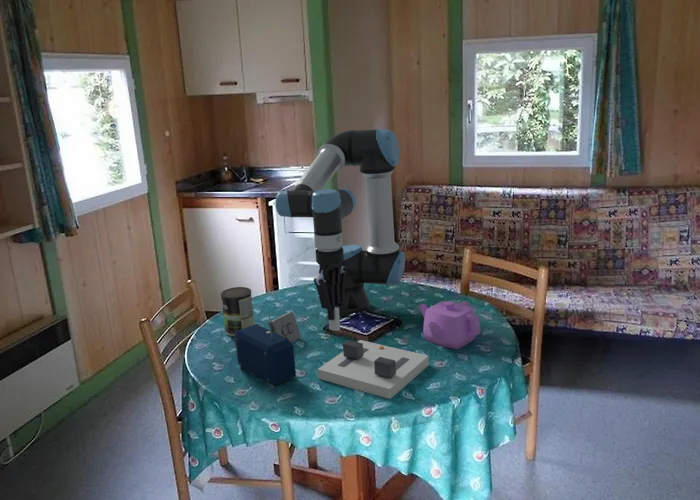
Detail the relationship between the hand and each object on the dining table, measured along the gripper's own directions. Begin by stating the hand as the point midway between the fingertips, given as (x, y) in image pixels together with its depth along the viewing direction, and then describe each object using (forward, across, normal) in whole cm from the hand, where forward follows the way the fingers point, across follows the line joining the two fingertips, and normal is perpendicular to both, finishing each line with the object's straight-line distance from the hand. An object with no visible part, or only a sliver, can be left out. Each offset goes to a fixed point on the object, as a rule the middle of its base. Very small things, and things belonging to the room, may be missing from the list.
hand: (334, 329), depth 176 cm
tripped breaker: (+12, +8, 0) cm, 14 cm away
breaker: (+12, +3, -14) cm, 19 cm away
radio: (+16, -7, +21) cm, 27 cm away
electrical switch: (+15, +12, +30) cm, 36 cm away
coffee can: (+15, +12, +50) cm, 54 cm away
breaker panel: (+15, +8, -7) cm, 19 cm away
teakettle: (+15, +38, -16) cm, 44 cm away
